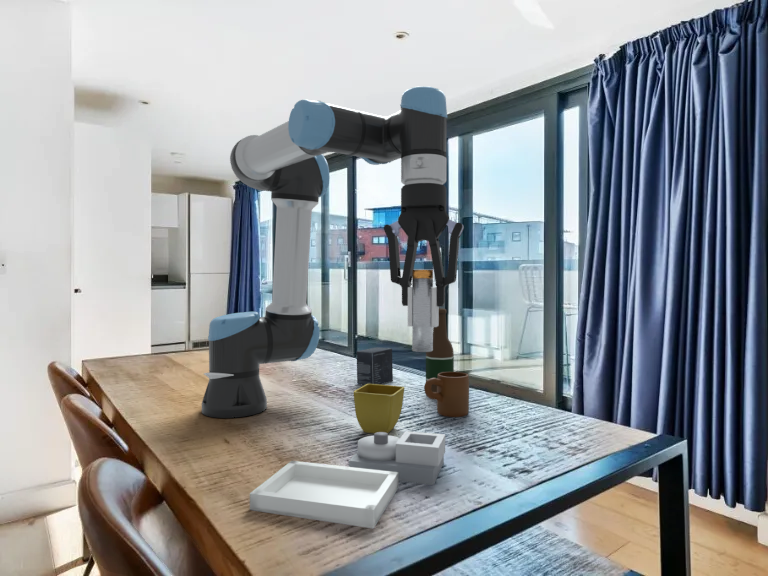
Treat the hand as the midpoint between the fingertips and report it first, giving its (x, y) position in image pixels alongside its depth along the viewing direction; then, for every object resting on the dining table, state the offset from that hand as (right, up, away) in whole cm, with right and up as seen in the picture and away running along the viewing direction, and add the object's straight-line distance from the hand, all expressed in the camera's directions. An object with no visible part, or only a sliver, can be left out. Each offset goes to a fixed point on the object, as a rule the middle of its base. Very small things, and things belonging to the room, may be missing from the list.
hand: (423, 325), depth 84 cm
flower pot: (-7, -24, +22) cm, 34 cm away
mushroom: (-44, -24, +36) cm, 62 cm away
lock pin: (0, -4, -1) cm, 4 cm away
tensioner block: (-4, -24, +1) cm, 25 cm away
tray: (-15, -25, -10) cm, 31 cm away
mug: (+8, -24, +35) cm, 43 cm away
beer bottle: (+9, -24, +54) cm, 60 cm away
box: (-9, -23, +71) cm, 75 cm away
